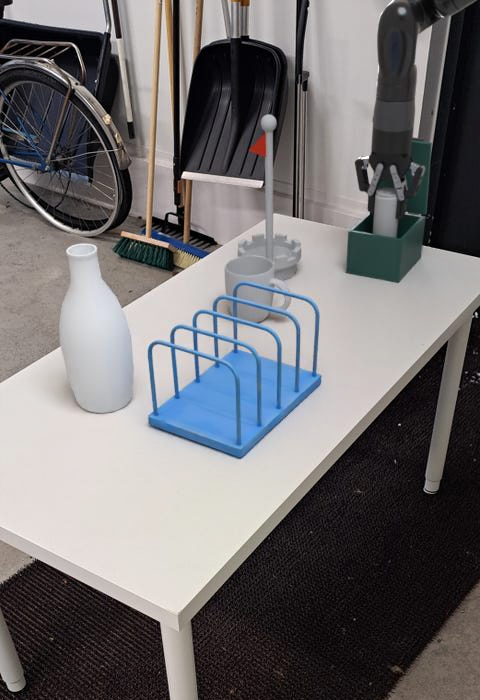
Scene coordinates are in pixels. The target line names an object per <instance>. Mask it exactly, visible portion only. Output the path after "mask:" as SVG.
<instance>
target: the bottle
mask: <svg viewBox="0 0 480 700" xmlns="http://www.w3.org/2000/svg"><path fill="white" fill-rule="evenodd" d="M65 255H66V256H67V260H68V267H69V276H70V283H69V286H68V288H67V291H66V293H65V297H64V299H63V300H62V304H61V307H60V308H61V309H60V315H59V322H58V324H59V325H58V326H59V328H58V330H59V331H58V333H59V345H60V349H61V353H62V359H63V362H64V366H65V370H66V375H67V378H68V380H69V383H70V384H69V385H70V386H71V389H72V391H73V395H74V397H75V400H76V402H77V404H78V405H79V406H80V407H81V408H82V409H83V410H85V411H87V412H88V413H89V412H90V413H95V414H108V413H113V412H116V411H120V410H121V409H123V408H124V407H126V406H127V405H128V404H129V402H130V401H131V400H132V398H133V393H134V390H133V389H134V356H133V355H134V354H133V341H132V334H131V330H130V326H129V324H128V320H127V317H126V314H125V312H124V310H123V307H122V305H121V303H120V302H119V299H118V297H117V296H116V295H115V293H114V292H113V291H112V290H111V288H110V287H109V286H108V284H107V283H106V282H105V280H103V278H102V274H101V269H100V263H99V259H98V247H97V246H96V245H95V244H92V243H76V244H73V245H71V246H69V247H68V248H66V249H65Z"/></svg>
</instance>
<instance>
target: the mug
mask: <svg viewBox="0 0 480 700" xmlns="http://www.w3.org/2000/svg"><path fill="white" fill-rule="evenodd" d="M243 281H247V282H252V283H256V284H260V285H264V286H268V287H272V288H277V289H280V290H283V291H287V292H291V290H290V288H289V287H288V285H287V284H286V283H285V282H284V280H282V281H281V280H279V279H275V275H274V264H273V262H272V261H271V260H269V259H267V258H264V257H260V256H241V257H238V256H236V257H234V258H232V259H230V260H228V262H226V263H225V265H224V287H225V295H227V296H232V297H233V290H234V288H235V286H236V285H237V284H238V283H240V282H243ZM274 294H275V293H274V292H271V291H267V290H263V289H259V288H255V287H251V286H247V285H242V286H240V287H239V288H238V290H237V298H239V299H243V300H247V301H251V302H255V303H258V304H262V305H266V306H269V307H273V308H277V309H280V310H284V311H287V309H288V308H289V307H290V306H291V301H292V297H290V296H286V295H283V298H284V302H283V304H281V305H280V306H273V300H274ZM226 301H227V305H228V308H229V312H230V314H231V316H233V301H230V300H226ZM270 314H274V315H275V314H276V315H277V314H279V313H275V312H271V311H268V310H264V309H260V308H257V307H253V306H249V305H245V304H241V303H237V318H239V319H243V320H246V321H250V322H253V323H257V324H259V323H260V322H263V321H264V320H266V318H268V317H269V315H270Z"/></svg>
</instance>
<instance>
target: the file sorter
mask: <svg viewBox="0 0 480 700" xmlns="http://www.w3.org/2000/svg"><path fill="white" fill-rule="evenodd" d="M242 285H247V286H251V287H255V288H259V289H263V290H267V291H271V292H274V294H279V295H282V296H284V295H286V296H290V297H291V298H293V299H297V300H301V301H304V302H306V303H308V304H309V305H310V306H311V307H312V308H313V311H314V314H315V315H314V317H315V319H314V320H315V321H314V339H313V355H312V371H311V370H308V369H304V368H301V366H300V363H301V325H300V322H299V320H298V319H297V318H296V317H295V316H294V315H293V314H292V313H291V312H289V311H287V310H285V311H284V310H280V309H277V308H273V307H274V306H272V307H269V306H266V305H262V304H258V303H255V302H251V301H247V300H243V299H239V298H237V290H238V288H239V287H240V286H242ZM222 300H225V301H227V300H230V301H233V315H229V314H225V313H222V312H217V309H218V307H217V306H218V302H219V301H222ZM237 303H241V304H245V305H249V306H253V307H257V308H260V309H264V310H268V311H271V312H275V313H278V314H279V315H282V316H286V317H287V318H289V319H290V320H291V321H292V323H293V324H294V327H295V331H296V332H295V335H296V337H295V366H294V365H292V364H288V363H285V362H283V361H282V359H283V357H282V356H283V355H282V354H283V353H282V351H283V347H282V346H283V345H282V341H281V339H280V336H279V335H278V334H277V333H276V331H275V330H274V329H272V327H271V328H270V327H269V326H266V325H263V324H260V323H253V322H250V321H246V320H243V319H239V318H237ZM203 314H205V315H208V316H212V328H213V329H212V330H213V331H210V330H209V331H208V330H205V329H202V328H199V327H198V323H197V322H198V321H197V320H198V318H199V317H198V316H200V315H203ZM218 318H220V319H224V320H227V321H231V322H232V323H233V324H232V325H233V327H232V328H233V331H232V332H233V338H232V337H229V336H226V335H222V334H219V333H218ZM238 324H242V325H244V326H248V327H251V328H254V329H259V330H260V331H261V330H262V331H265V332H267V333H268V334H270V335H271V336H272V337H273V338H274V340H275V343H276V345H277V346H276V347H277V348H276V349H277V350H276V351H277V352H276V353H277V354H276V359H277V360H275V359H271V358H268V357H265V356H262V355H259V353H258V351H257V350H256V349H255V348H254V347H253V345H251V344H249V343H248V342H245V341H242V340H238ZM180 329H181V330H185V331H189V332H192V339H193V349H192V348H189V347H185V346H182V345H178V344H176V343H175V341H176V340H175V339H176V338H175V333H176V331H177V330H180ZM319 333H320V309H319V307H318V304H316V302H315V301H314V300H313V299H311V298H310V297H308V296H304V295H301V294H298V293H294V292H291V291H290V292H287V291H283V290H280V289H279V288H277V287H274V288H272V287H268V286H264V285H260V284H256V283H252V282H247V281H243V282H240V283H238V284H237V285H236V286H235V288H234V290H233V297H232V296H227V295H226V294H222V295H219V296H217V297H216V298H215V299H214V300H213V303H212V310H211V309H205V308H203V309H200V310H197V311H196V312H195V313H194V315H193V317H192V326H191V325H187V324H176V325H175V326H173V328H172V329H171V331H170V335H169V340H170V341H169V342H168V341H165V340H161V339H157V340H154V341H152V342H151V343H150V344H149V345H148V348H147V361H148V372H149V381H150V383H149V384H150V391H151V402H152V409H153V410H152V412H151V413H149V414H148V415H147V422H148V425H150V426H152V427H155V428H158V429H160V430H163V431H166V432H168V433H171V434H174V435H177V436H180V437H182V438H184V439H185V438H186V439H188V440H191V441H194V442H197V443H199V444H202V445H205V446H208V447H210V448H213V449H216V450H217V451H221V452H224V453H226V454H230V455H233V456H234V457H235V456H236V457H237V458H242V457H243V456H244V455H246V454H247V453H248V451H250V450H251V449H252V448H253V447H254V446H255V445H256V444H257V443H258V442H260V440H262V438H264V437H265V436H266V435H267V434H268V433H269V432H270V431H271V430H272V429H273V428H275V426H277V425H278V424H279V423H280V422H281V421H282V420H283V419H284V418H286V416H287V415H288V414H289V413H290V412H291V411H293V410H294V409H295V408H296V407H297V406H298V405H300V403H301V402H302V401H304V399H306V398H307V397H308V396H309V395H310V394H311V393H312V392H313V391H314V390H316V388H318V387H319V386H320V385H321V384H322V374H321V373H317V370H318V369H317V368H318V351H319V335H320V334H319ZM198 334H200V335H202V336H206V337H210V338H213V346H214V347H213V348H214V355H211V354H208V353H204V352H201V351H199V346H198V345H199V344H198ZM219 340H220V341H223V342H227V343H230V344H232V345H233V348H232V350H231V351H229V352H227V354H225V355H224V356H223V357H221V358H220V357H219V355H220V354H219ZM156 345H160V346H163V347H166V348H170V355H171V363H172V364H171V365H172V367H171V368H172V377H173V387H174V388H173V389H174V395H173V396H171V397H170V398H168V400H166V401H165V402H164V403H162V404H161V405H159V406H158V403H157V402H158V401H157V400H158V399H157V390H156V381H155V370H154V359H153V348H154V347H155V346H156ZM238 346H240V347H243V348H245V349H247V350H248V351H249V352H248V351H244V350H242V349H238ZM176 350H177V351H180V352H184V353H187V354H190V355H193V357H194V358H193V359H194V372H195V378H194V379H193V380H192V381H191V382H189V383H187V385H185V386H184V387H183V388H182V389H179V378H178V377H179V376H178V366H177V356H176ZM199 358H203V359H206V360H209V361H211V362H214V364H213V365H211V366H210V367H208V368H207V369H206V370H205V371H204V372H201V374H200V361H199Z"/></svg>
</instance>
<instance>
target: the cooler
mask: <svg viewBox="0 0 480 700" xmlns="http://www.w3.org/2000/svg"><path fill="white" fill-rule="evenodd" d="M426 219H427V218H426V215H420V214H417V215H416V214H413V213H407V212H406V213H405V215H404V216H403V217H402V218H400V219H398V226H397V237H396V238H394V237H389V236H383V235H377V234H373V222H374V215H370V212H369V211H368V212H367V213H366V214H365V215H364V216H363V217H362V218H361V219H360V220H359V221H358V222H356V223H355V224H354V225H353V226H352V227H351V228H350V229H349V230H348V231H347V244H346V245H347V246H346V265H345V273H346V274H350V275H355V276H360V277H365V278H366V277H367V278H371V279H376V280H382V281H386V282H393V283H397V284H399V283H400V282H401V281H402V280H403V279H404V278H405V277H406V275H407V274H408V273H409V272H410V271H411V270H412V269H413V267H415V265H416V264H417V263H418V262H419V261H420V259H421V258H422V253H423V252H422V251H423V244H424V235H425V225H426Z"/></svg>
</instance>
